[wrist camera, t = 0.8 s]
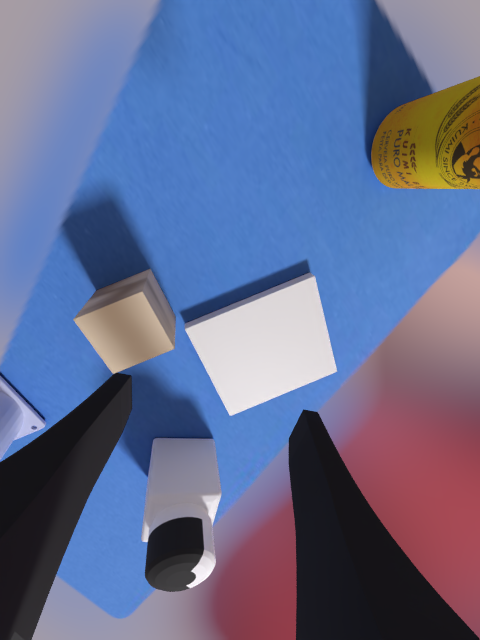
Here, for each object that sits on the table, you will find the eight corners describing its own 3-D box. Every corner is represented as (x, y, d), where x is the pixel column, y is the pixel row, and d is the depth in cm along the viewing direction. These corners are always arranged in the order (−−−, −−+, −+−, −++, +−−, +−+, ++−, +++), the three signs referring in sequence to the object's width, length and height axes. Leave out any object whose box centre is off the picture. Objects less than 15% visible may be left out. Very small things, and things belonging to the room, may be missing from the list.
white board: (228, 408, 33) (230, 416, 32) (184, 323, 27) (185, 329, 26) (331, 365, 33) (337, 371, 32) (309, 272, 27) (314, 276, 26)
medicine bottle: (147, 479, 35) (133, 606, 24) (153, 436, 32) (140, 559, 22) (204, 477, 37) (214, 596, 26) (214, 437, 34) (230, 550, 24)
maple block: (126, 336, 27) (113, 373, 21) (96, 290, 24) (73, 319, 19) (175, 316, 27) (174, 348, 21) (150, 268, 24) (142, 291, 19)
